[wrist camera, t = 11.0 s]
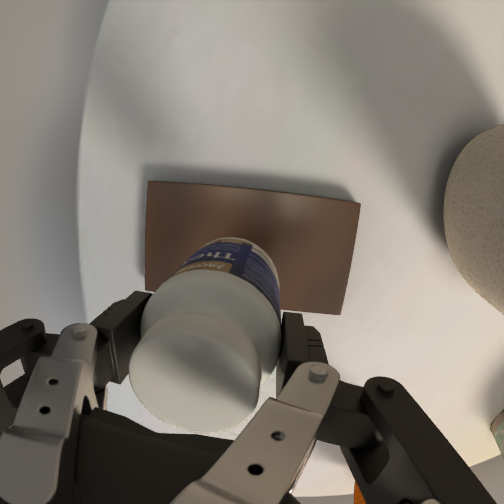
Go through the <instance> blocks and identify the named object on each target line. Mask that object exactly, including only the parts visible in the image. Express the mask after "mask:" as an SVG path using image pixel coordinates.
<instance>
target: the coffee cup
mask: <svg viewBox="0 0 504 504" xmlns="http://www.w3.org/2000/svg"><path fill="white" fill-rule="evenodd" d="M491 432H492V434H493V436H494V438H495V440H496V442H497V445H498V447H499V449H500V451H501V454H502V456H503V458H504V411H503V412H502V413H501V414H499V416H498V417H497V418H496V419H495V420H494V422H493V423H492V425H491Z"/></svg>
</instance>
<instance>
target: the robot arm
mask: <svg viewBox="0 0 504 504" xmlns="http://www.w3.org/2000/svg"><path fill="white" fill-rule="evenodd" d="M152 295H153V294H152V293H146V292H141V291H134V292H133V293H132V294H131V295H130V296H129V297H127V298H126V299H125V300H124V299H123V300H120V301H118V302H115V303H113V304H112V305H111V306H110V307H108V309H106V310H105V311H104V312H103V313H102V314H100V315H99V316H98V317H97V318H95V319H94V320H93V321H92V322H91V323H90V324H86V323H76V324H72V325H69V326H67V327H65V328H64V329H63V330H62V331H61V334H60V335H58V334H48V333H46V332H45V327H44V323H43V322H42V321H40V320H38V319H24V320H21V321H18V322H16V323H14V324H12V325H10V326H8V327H6V328H4V329H2V330H0V373H1V371H2V369H3V368H5V367H6V366H8V365H10V364H11V363H13V362H15V361H16V360H18V359H20V360H21V363H22V366H23V369H24V372H25V374H24V375H23V376H21V377H19V378H18V379H16V380H14V381H13V382H11V383H10V384H8V385H7V386H5V387H4V388H3V385H2V383H1V380H0V504H301V503H300V502H299V501H297V500H296V498H295V497H294V496H293V495H292V494H291V493H292V492H293V490H294V488H295V486H296V484H297V482H298V480H299V478H300V476H301V474H302V472H303V470H304V468H305V466H306V463H307V461H308V459H309V457H310V455H311V453H312V451H313V449H314V447H315V445H316V442H317V440H319V441H323V442H327V443H331V444H335V445H340V448H341V451H342V453H343V455H344V457H345V459H346V462H347V464H348V466H349V468H350V470H351V472H352V474H353V477H354V479H355V481H356V483H357V485H358V487H359V489H360V491H361V494H362V496H363V498H364V500H365V502H366V504H497V503H496V502H495V501H494V499H493V498H492V497H491V495H490V494H489V493H488V491H487V490H486V489H485V488H484V486H483V485H482V484H481V482H480V481H479V480H478V478H477V477H476V476H475V474H474V473H473V472H472V471H471V469H470V468H469V467H468V465H467V464H466V463H465V462H464V460H463V459H462V458H461V457H460V455H459V454H458V453H457V452H456V450H455V449H454V448H453V447H452V445H451V444H450V443H449V442H448V440H447V439H446V438H445V437H444V435H443V434H442V433H441V432H440V430H439V429H438V428H437V427H436V425H435V424H434V423H433V422H432V421H431V419H430V418H429V417H428V416H427V414H426V413H425V412H424V411H423V410H422V408H421V407H420V406H419V405H418V404H417V402H416V401H415V400H414V399H413V398H412V396H411V395H410V394H409V393H408V392H407V390H406V389H405V388H404V387H403V386H402V385H401V384H400V383H399V382H397V381H396V380H393V379H391V378H387V377H373V378H370V379H368V380H367V381H366V383H365V385H364V387H361V386H356V385H352V384H348V383H345V382H343V381H341V380H340V375H339V373H338V371H337V370H336V369H335V368H333V367H332V366H330V365H329V364H328V360H327V356H326V353H325V349H324V348H323V347H324V346H323V342H322V338H321V335H320V333H319V332H318V331H317V330H316V329H315V328H314V327H313V326H304V322H303V317H302V314H300V313H290V312H284V313H283V317H282V323H281V333H282V338H281V350H280V356H279V359H278V362H277V364H276V399H274V398H272V397H269V398H268V399H267V400H266V401H265V403H264V404H263V405H262V407H261V408H260V409H259V410H258V412H257V413H256V414H255V416H254V417H253V418H252V419H251V421H250V422H249V423H248V424H247V426H246V427H245V428H244V429H243V431H242V432H241V433H240V434H239V436H238V437H237V438H236V439H235V441H234V440H228V439H221V438H215V437H209V436H203V435H198V434H167V433H157V432H154V431H152V430H150V429H148V428H146V427H144V426H142V425H140V424H138V423H136V422H134V421H132V420H130V419H129V418H127V417H125V416H122V415H118V414H115V413H112V412H109V411H107V399H108V389H107V383H108V382H109V381H110V382H114V383H117V384H121V383H122V381H123V380H124V379H125V377H126V376H127V374H128V373H129V372H128V370H129V361H130V358H131V355H132V353H133V351H134V349H135V347H136V346H137V345H138V343H139V342H140V340H141V331H140V327H141V319H142V314H143V311H144V309H145V306H146V304H147V302H148V301H149V299H150V297H151V296H152ZM11 426H12V427H11ZM9 427H11V428H9Z"/></svg>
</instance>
